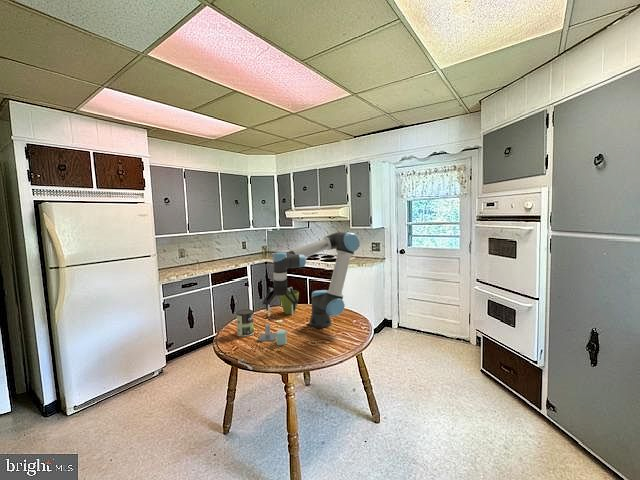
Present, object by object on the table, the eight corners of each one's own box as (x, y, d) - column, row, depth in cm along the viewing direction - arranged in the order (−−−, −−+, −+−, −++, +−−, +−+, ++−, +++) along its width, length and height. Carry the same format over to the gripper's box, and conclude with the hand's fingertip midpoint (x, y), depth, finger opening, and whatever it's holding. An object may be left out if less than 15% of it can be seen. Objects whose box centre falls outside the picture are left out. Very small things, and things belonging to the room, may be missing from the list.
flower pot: (275, 313, 227) (275, 292, 226) (289, 308, 239) (289, 289, 237) (289, 317, 218) (288, 296, 216) (303, 312, 229) (303, 292, 228)
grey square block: (277, 334, 187) (276, 322, 186) (275, 340, 177) (275, 328, 176) (260, 334, 187) (260, 322, 186) (258, 341, 177) (258, 328, 176)
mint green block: (286, 340, 177) (286, 330, 176) (285, 344, 172) (285, 333, 171) (277, 341, 177) (277, 330, 176) (276, 344, 172) (276, 333, 171)
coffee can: (256, 330, 193) (255, 309, 192) (249, 337, 183) (248, 314, 182) (241, 329, 195) (241, 308, 194) (234, 336, 185) (233, 313, 184)
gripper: (302, 277, 176) (302, 313, 177) (259, 278, 175) (260, 313, 176) (301, 280, 168) (302, 317, 170) (257, 281, 167) (258, 318, 169)
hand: (280, 315), depth 173 cm, fingers open, 13 cm apart
